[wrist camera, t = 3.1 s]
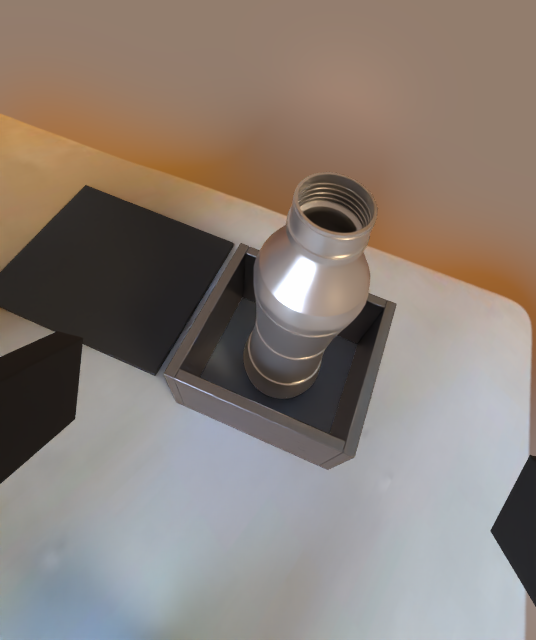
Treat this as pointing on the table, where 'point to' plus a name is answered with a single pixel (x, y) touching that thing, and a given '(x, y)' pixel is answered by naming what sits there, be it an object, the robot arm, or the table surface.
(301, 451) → the steel caddy
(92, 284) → the slate mat
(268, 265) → the metal bottle
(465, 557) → the table surface
